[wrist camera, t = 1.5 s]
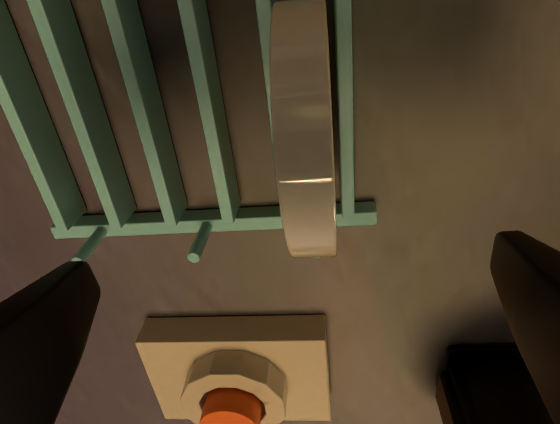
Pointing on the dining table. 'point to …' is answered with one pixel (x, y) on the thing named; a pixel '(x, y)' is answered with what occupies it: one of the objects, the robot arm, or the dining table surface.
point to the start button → (231, 407)
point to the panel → (239, 363)
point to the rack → (148, 125)
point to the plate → (303, 126)
